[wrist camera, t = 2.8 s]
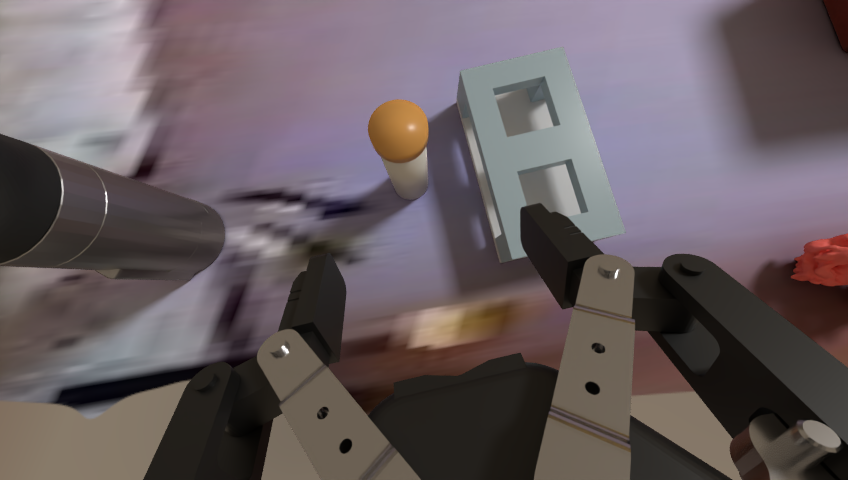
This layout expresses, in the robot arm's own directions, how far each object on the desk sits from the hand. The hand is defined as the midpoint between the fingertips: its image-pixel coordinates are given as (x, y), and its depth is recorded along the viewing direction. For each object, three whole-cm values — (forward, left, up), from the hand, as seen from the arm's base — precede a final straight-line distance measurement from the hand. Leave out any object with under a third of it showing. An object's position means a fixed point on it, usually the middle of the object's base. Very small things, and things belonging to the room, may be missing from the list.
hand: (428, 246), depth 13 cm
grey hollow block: (+17, -4, -25) cm, 30 cm away
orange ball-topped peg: (+9, +8, -25) cm, 27 cm away
